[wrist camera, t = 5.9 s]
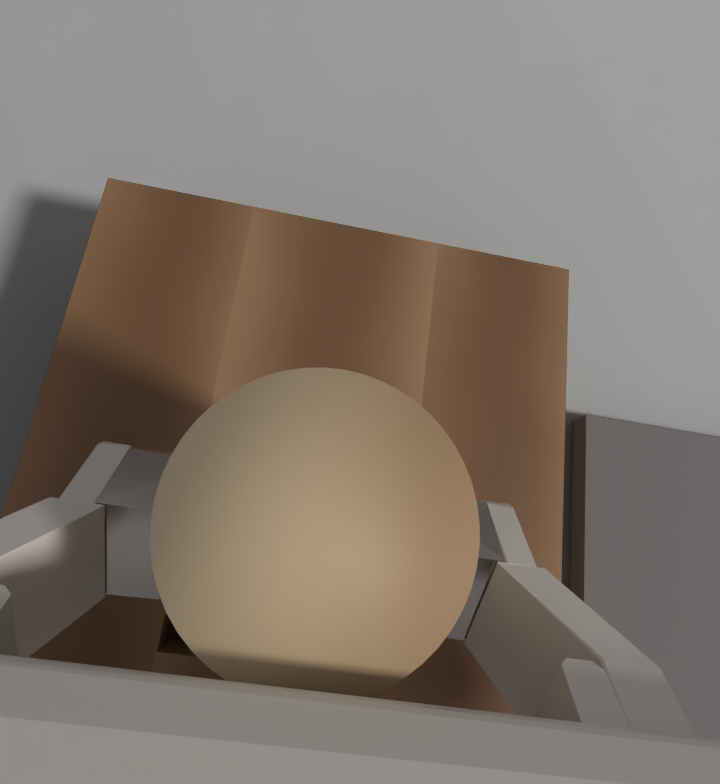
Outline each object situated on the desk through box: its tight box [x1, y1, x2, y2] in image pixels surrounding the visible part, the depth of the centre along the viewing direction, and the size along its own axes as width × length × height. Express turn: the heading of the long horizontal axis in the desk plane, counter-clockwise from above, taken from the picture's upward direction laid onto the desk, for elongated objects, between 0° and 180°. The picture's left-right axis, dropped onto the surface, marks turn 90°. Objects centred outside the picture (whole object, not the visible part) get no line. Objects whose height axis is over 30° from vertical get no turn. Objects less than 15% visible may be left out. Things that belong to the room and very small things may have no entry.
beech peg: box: [150, 367, 480, 697], centre depth 11 cm, size 4×4×10 cm
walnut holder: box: [1, 178, 569, 715], centre depth 14 cm, size 12×16×4 cm
